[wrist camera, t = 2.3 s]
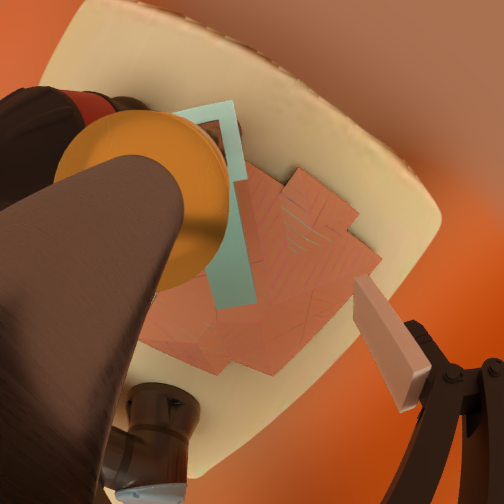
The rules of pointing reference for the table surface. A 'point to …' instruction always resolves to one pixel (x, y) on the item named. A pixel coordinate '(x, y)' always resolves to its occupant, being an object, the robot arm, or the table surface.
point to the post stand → (95, 287)
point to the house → (268, 280)
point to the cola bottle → (45, 134)
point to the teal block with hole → (234, 243)
